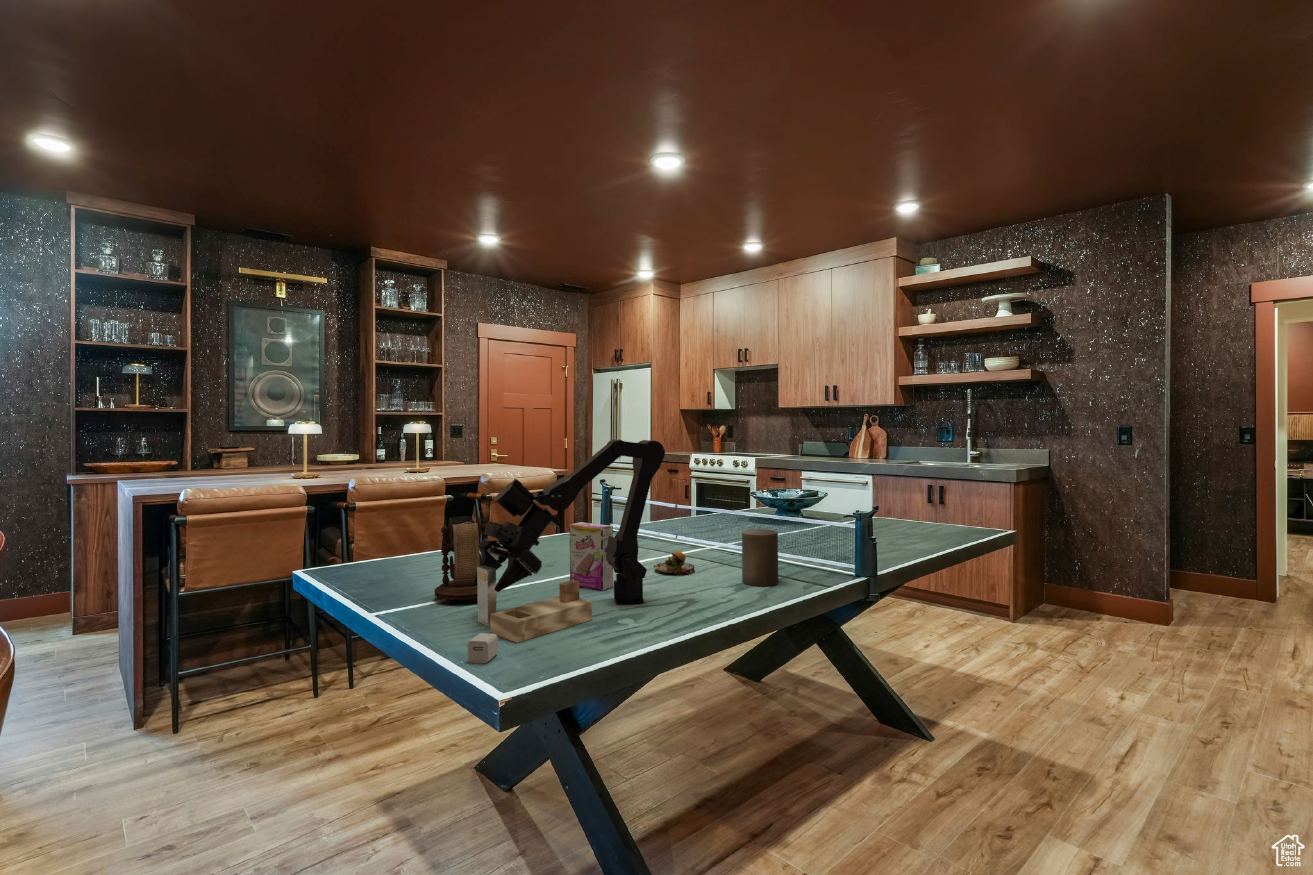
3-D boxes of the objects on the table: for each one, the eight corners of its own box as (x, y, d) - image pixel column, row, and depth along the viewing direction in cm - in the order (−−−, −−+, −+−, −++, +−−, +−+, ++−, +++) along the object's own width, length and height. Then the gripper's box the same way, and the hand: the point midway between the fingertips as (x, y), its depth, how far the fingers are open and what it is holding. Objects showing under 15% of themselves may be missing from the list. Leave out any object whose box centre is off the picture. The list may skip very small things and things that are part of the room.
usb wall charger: (467, 662, 122) (467, 640, 122) (483, 649, 129) (483, 628, 129) (488, 663, 122) (488, 641, 121) (503, 650, 128) (502, 629, 128)
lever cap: (486, 619, 148) (486, 565, 148) (497, 624, 145) (496, 568, 144) (477, 621, 146) (476, 567, 146) (487, 626, 143) (486, 570, 143)
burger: (654, 567, 200) (654, 542, 200) (694, 567, 200) (694, 542, 200) (652, 577, 188) (652, 550, 188) (695, 577, 188) (695, 550, 188)
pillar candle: (781, 586, 176) (781, 529, 175) (743, 586, 176) (743, 529, 175) (775, 577, 185) (775, 523, 185) (739, 578, 185) (739, 523, 185)
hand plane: (565, 612, 153) (564, 577, 153) (592, 619, 147) (591, 583, 147) (490, 633, 139) (490, 594, 138) (517, 642, 133) (516, 602, 132)
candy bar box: (568, 586, 178) (568, 524, 177) (580, 582, 182) (580, 521, 181) (602, 591, 172) (602, 527, 171) (614, 587, 176) (613, 524, 175)
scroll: (438, 609, 157) (436, 523, 156) (431, 594, 170) (430, 515, 170) (501, 601, 163) (500, 519, 162) (490, 587, 176) (489, 511, 176)
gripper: (485, 503, 155) (440, 558, 148) (528, 511, 141) (481, 572, 134) (516, 533, 161) (474, 587, 153) (560, 543, 147) (516, 603, 140)
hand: (485, 586), depth 145 cm, fingers open, 9 cm apart
